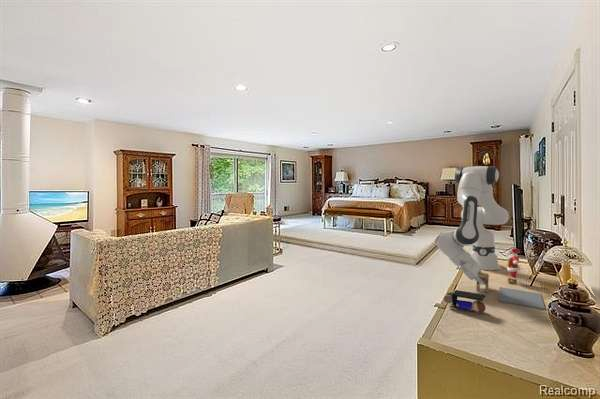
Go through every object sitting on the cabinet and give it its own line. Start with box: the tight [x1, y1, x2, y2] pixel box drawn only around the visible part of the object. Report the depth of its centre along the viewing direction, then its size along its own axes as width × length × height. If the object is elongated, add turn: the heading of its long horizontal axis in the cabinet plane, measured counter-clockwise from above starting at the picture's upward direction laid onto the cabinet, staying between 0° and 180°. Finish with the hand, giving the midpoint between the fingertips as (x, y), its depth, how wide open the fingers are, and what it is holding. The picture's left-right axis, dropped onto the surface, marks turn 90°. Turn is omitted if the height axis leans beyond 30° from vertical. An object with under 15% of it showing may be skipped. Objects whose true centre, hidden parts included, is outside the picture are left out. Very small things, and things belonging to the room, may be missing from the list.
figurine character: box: [443, 289, 486, 314], centre depth 122 cm, size 7×8×15 cm
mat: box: [498, 286, 546, 311], centre depth 132 cm, size 20×16×1 cm
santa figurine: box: [506, 247, 521, 285], centre depth 152 cm, size 25×6×19 cm, turn 144°
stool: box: [476, 271, 490, 294], centre depth 142 cm, size 5×5×8 cm
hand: (483, 281), depth 142 cm, fingers open, 8 cm apart
